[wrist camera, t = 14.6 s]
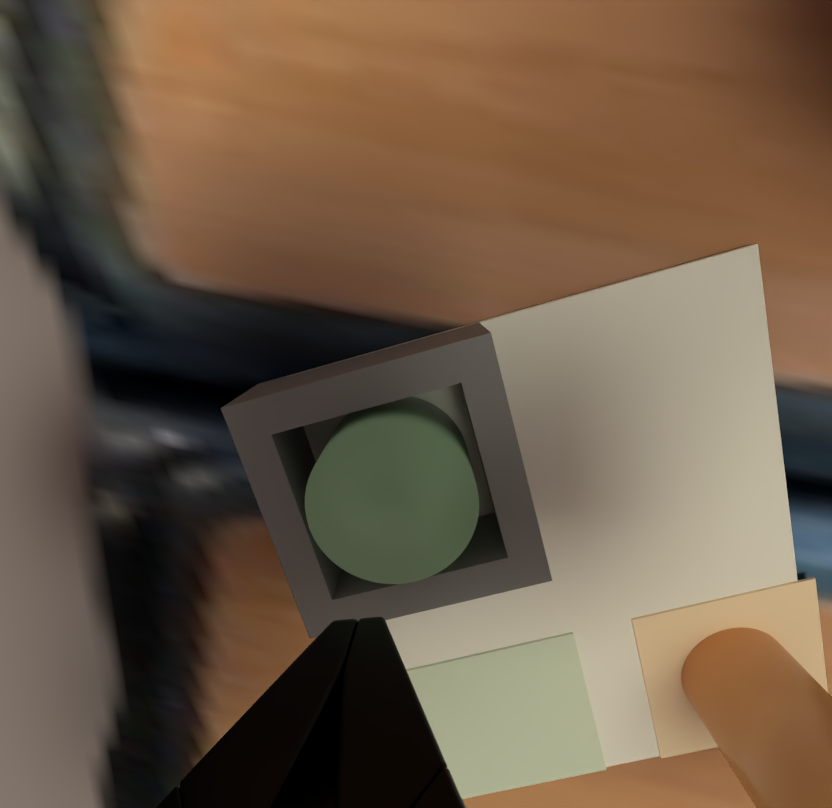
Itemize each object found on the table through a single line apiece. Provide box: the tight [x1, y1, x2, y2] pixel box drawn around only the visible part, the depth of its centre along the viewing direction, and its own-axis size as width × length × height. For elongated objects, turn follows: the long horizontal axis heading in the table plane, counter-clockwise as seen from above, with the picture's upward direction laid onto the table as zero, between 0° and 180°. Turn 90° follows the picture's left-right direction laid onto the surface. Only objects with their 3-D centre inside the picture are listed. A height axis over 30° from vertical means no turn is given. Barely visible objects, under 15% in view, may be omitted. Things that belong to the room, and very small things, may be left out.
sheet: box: [221, 244, 828, 799], centre depth 16 cm, size 17×16×3 cm
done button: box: [305, 397, 479, 584], centre depth 14 cm, size 4×4×3 cm
